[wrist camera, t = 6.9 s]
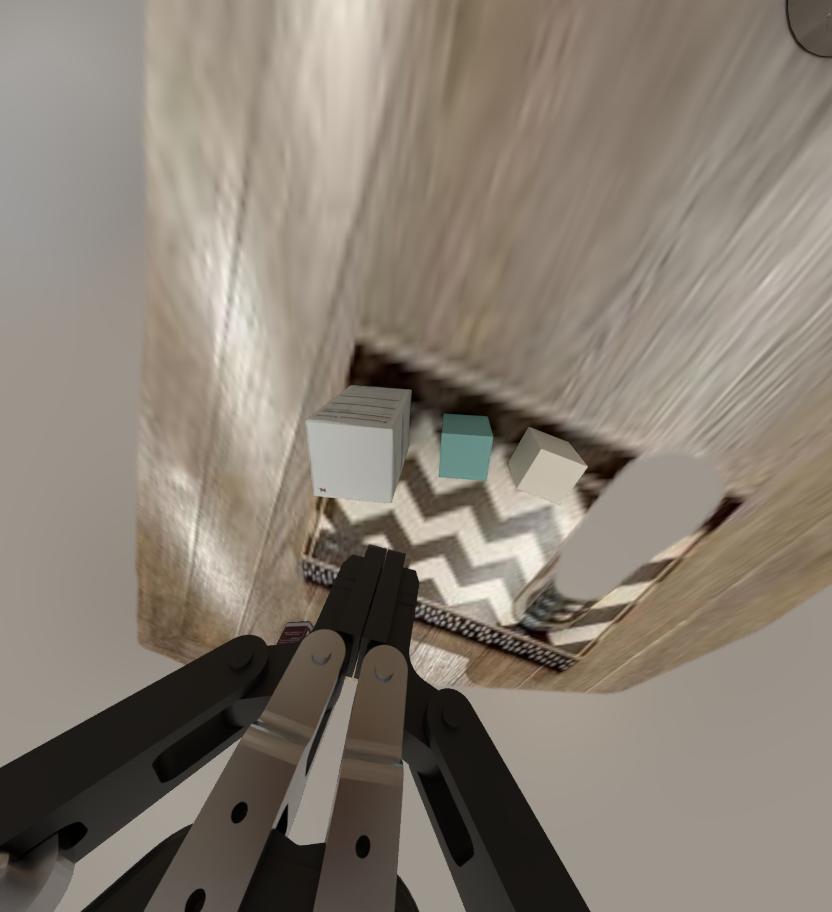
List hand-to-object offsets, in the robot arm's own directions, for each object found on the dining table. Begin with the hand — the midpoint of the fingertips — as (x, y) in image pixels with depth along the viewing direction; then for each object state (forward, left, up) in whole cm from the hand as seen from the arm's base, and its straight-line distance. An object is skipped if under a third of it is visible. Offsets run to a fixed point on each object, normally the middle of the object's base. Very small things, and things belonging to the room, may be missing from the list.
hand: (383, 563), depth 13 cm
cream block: (+4, +14, -26) cm, 30 cm away
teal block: (+4, +5, -26) cm, 27 cm away
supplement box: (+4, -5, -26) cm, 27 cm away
